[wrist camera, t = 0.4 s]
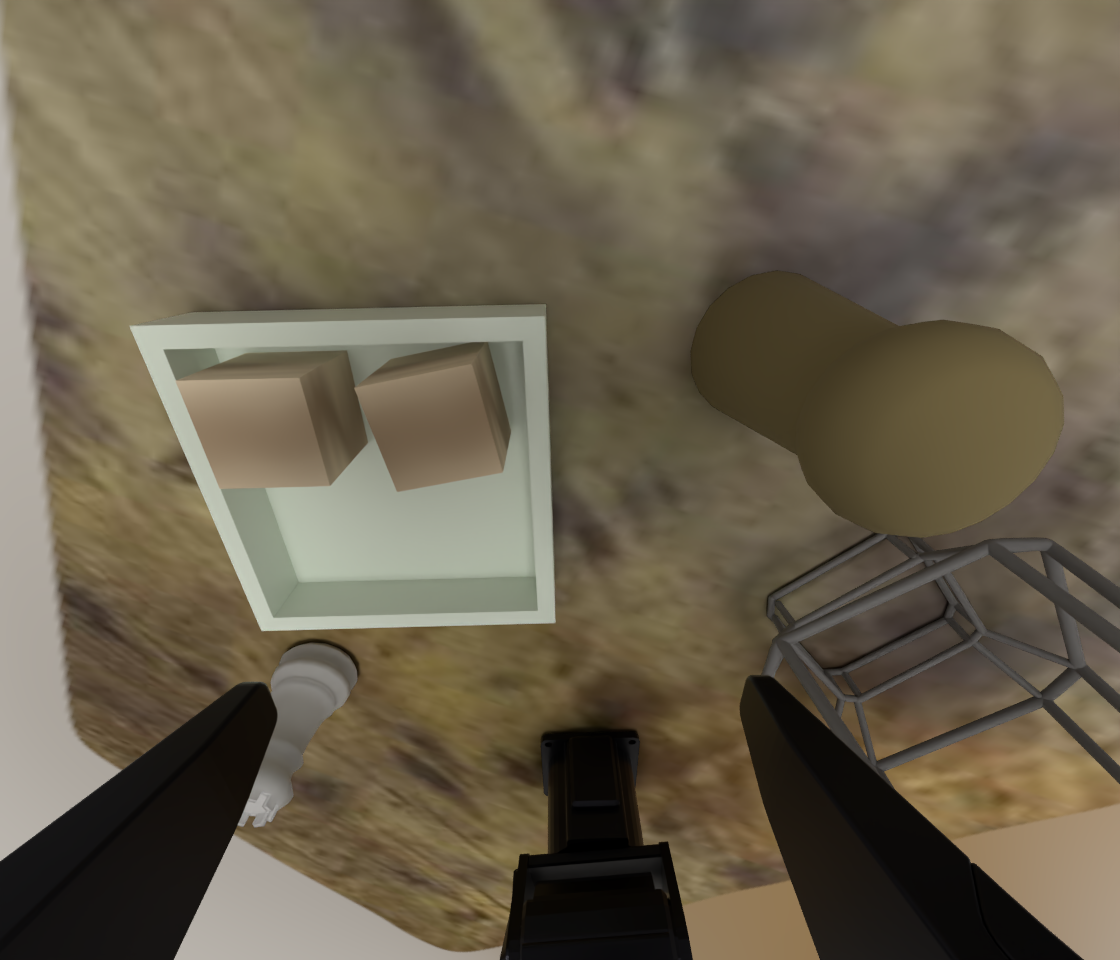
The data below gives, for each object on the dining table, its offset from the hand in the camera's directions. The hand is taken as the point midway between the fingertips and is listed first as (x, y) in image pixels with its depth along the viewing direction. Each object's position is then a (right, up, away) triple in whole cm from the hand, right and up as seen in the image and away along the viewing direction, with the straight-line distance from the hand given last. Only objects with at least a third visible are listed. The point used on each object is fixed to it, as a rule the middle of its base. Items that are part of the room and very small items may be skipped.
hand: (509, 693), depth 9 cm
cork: (+9, +10, +11) cm, 17 cm away
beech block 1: (-9, +7, +11) cm, 16 cm away
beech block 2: (-3, +7, +11) cm, 14 cm away
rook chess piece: (-13, -7, +19) cm, 24 cm away
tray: (-6, +5, +13) cm, 15 cm away
